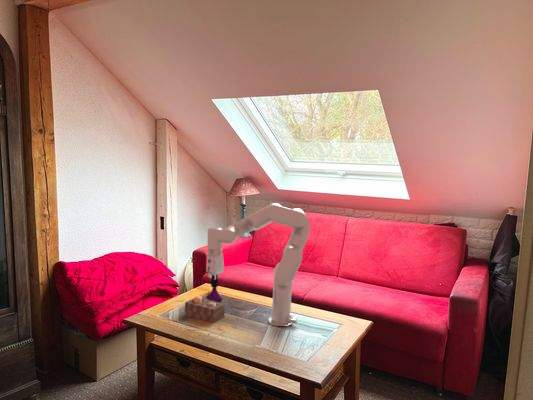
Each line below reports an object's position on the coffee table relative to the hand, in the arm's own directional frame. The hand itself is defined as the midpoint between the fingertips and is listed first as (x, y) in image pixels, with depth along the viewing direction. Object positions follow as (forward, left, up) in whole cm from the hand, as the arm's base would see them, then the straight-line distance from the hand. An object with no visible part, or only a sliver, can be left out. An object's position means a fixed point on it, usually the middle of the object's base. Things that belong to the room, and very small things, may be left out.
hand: (214, 286), depth 207 cm
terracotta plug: (+10, 0, -15) cm, 17 cm away
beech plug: (+1, 0, -16) cm, 16 cm away
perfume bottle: (+11, -18, -17) cm, 27 cm away
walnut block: (+5, 0, -17) cm, 18 cm away
